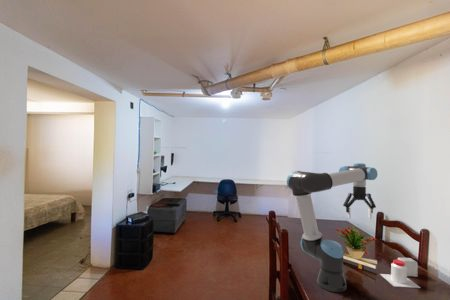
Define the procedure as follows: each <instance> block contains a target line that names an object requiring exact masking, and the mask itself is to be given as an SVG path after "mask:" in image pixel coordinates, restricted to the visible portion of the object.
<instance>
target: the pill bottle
mask: <svg viewBox="0 0 450 300" xmlns="http://www.w3.org/2000/svg"><path fill="white" fill-rule="evenodd" d="M390 266H391V267H390V274H391V279H392V280H393V281H395V282H397V283H402V284H406V283H407V278H408V276H407V267H406V266H405V262H404V261H401V260H398V259H393V262H391V263H390Z"/></svg>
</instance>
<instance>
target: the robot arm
mask: <svg viewBox="0 0 450 300" xmlns="http://www.w3.org/2000/svg"><path fill="white" fill-rule="evenodd" d="M377 177H378V170H377V168H375V167H370V166H366V163H364V162H363V163H358V162H357V163H355V162H354V163H353V164H352V165H350V166H349V165H345V166H343V165H342V166H340V167H339V169H338V171H337V172H332V173H328V172H323V173H322V172H321V173H320V172H317V173H316V172H309V171H301V170H295V171H292V172H290V173H289V174H288V176H287V178H286V185H287V187H288V188H289V189H290V190H291V192H292V195H293V197H295V198H296V203H297V207H298V212H299V217H300V221H301V226H302V230H303V234H302V235H301V240H300V247H301V250H302V251H303V252H304V253H305V254H306V255H308V256H310V257H312V258H314V259H315V260H318V261H319V262H320V269H319V272H318V275H317V279H316V284H317V285H318V286H319V287H321V288H322V289H323V290H326V291H328V292H333V293H342V292H345V291H346V290H347V281H346V278H345V275H344V248H343V245H341V244H340V242H337V241H335V240H332V239H324V238H323V233H322V232H320V231H319V228H318V223H317V218H316V215H315V210H314V204H313V201H312V197H311V196H312V194H313V193H319V192H324V191H329V190H331V189H332V188H335V187H338V186H341V185H347V184H352V185H353V186H352V193H351V192H348V193H347V196H346V198H345V201H344V203H343V204H342V206H343V207H345V210H346V211H345V212H346V214H347V217H348V218H349V219H350V218H351V207H352V205H353V204H354V203H355V202H356V201H363V202H364V203H365V204H366V205H367V206H368V209H367V218H368V219H371V220H372V214H374V213H373V212H374V211H373V210H374V209H375V208H377V206H376V203H375V202H374V200H373V198H372V194H371V193H368V192H367V187H366V185H367V181H368V180H369V181H375V180H376V179H377ZM366 197H367V198H366ZM367 199H368V200H367Z"/></svg>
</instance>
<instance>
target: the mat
mask: <svg viewBox="0 0 450 300" xmlns="http://www.w3.org/2000/svg"><path fill="white" fill-rule="evenodd" d="M379 275H380V276H381V277H382V278H384V279H385V280H386V281H387V282H388V283H389V284H390V285H392V286H393V287H394V288H411V289H421V286H419V285H418V284H417V283H415V282H414V281H413V280H411V279H410V278H408V277H407V283H406V284H402V283H397V282H395V281H393V280H392V279H391V273H390V274H387V273H379Z"/></svg>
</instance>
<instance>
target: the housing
mask: <svg viewBox="0 0 450 300" xmlns="http://www.w3.org/2000/svg"><path fill="white" fill-rule="evenodd" d="M397 260H401V261H404V262H405V266H406V267H407V277H419V276H418V274H419V273H418V269H419V268H418V262H417V261H416V260H414V259H413V258H411V257H397Z"/></svg>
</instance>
